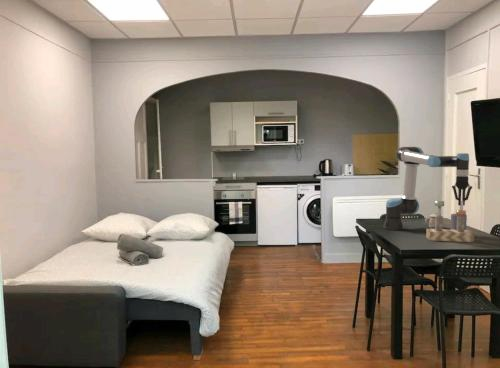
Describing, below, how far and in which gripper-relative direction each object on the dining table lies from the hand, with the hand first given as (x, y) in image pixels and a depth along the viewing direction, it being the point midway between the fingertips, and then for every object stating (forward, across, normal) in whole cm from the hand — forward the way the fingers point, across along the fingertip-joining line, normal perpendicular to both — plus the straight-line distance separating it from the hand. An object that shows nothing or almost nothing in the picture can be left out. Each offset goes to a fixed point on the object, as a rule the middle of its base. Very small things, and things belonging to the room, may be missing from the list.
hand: (461, 210), depth 296 cm
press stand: (+21, -7, 0) cm, 22 cm away
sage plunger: (+8, -14, 0) cm, 16 cm away
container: (+21, +3, +18) cm, 28 cm away
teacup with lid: (+21, -8, +50) cm, 55 cm away
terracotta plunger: (+15, 0, 0) cm, 15 cm away
